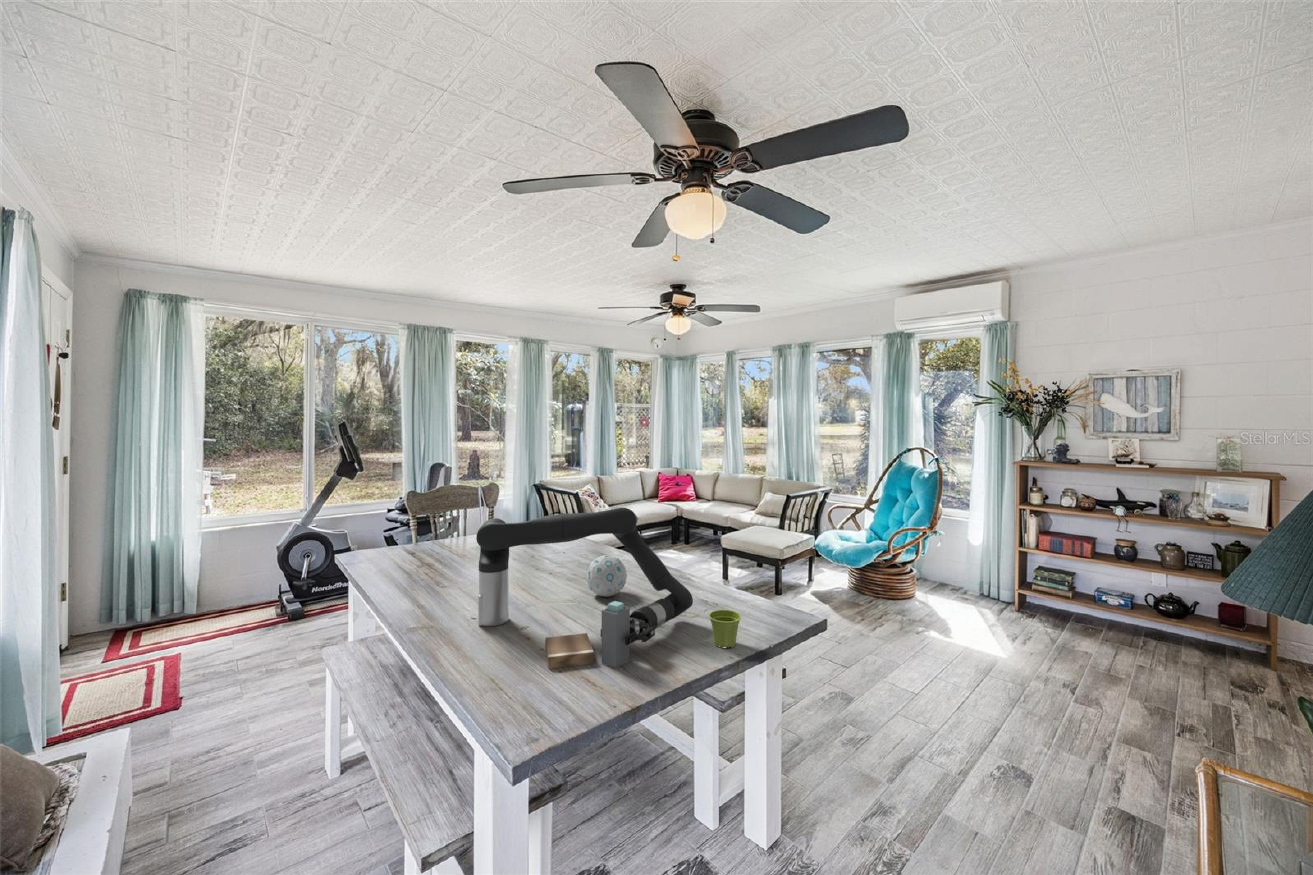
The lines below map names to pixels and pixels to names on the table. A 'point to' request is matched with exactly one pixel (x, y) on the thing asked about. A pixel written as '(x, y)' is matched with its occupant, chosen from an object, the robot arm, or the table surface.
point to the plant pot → (724, 627)
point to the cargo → (615, 607)
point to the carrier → (615, 637)
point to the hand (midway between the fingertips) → (613, 637)
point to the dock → (568, 650)
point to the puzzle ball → (606, 575)
